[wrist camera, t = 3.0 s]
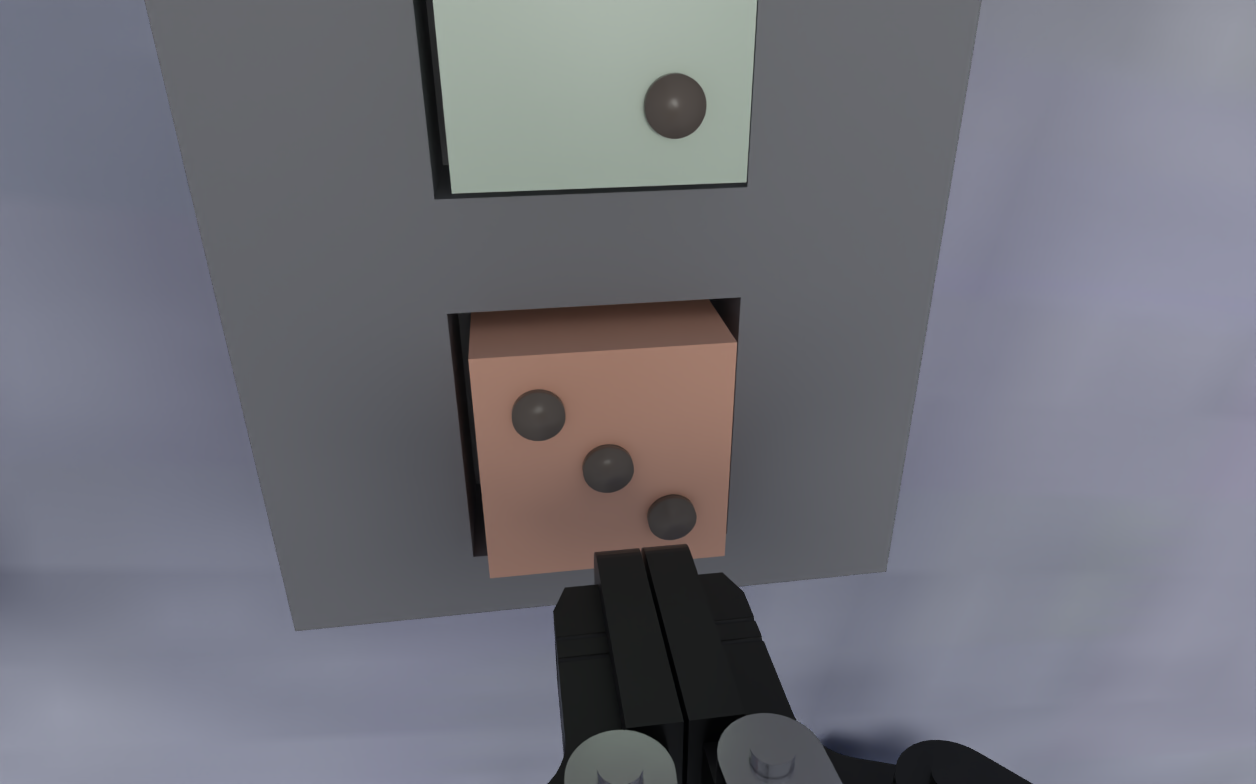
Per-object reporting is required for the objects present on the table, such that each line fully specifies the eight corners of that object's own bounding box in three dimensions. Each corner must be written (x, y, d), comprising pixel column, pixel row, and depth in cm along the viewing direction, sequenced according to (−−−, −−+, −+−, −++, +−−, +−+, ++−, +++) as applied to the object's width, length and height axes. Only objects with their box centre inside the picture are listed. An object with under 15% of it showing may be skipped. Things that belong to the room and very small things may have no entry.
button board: (15, -1009, 11) (-203, -1457, 8) (993, -881, 13) (1182, -1199, 9) (326, 526, 22) (295, 631, 19) (828, 483, 24) (886, 571, 21)
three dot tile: (471, 309, 17) (467, 364, 15) (707, 296, 18) (739, 346, 16) (490, 509, 20) (489, 584, 17) (699, 491, 20) (727, 561, 18)
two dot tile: (427, -147, 14) (414, -171, 11) (724, -143, 14) (770, -165, 12) (457, 162, 16) (451, 196, 14) (713, 153, 17) (749, 184, 14)
